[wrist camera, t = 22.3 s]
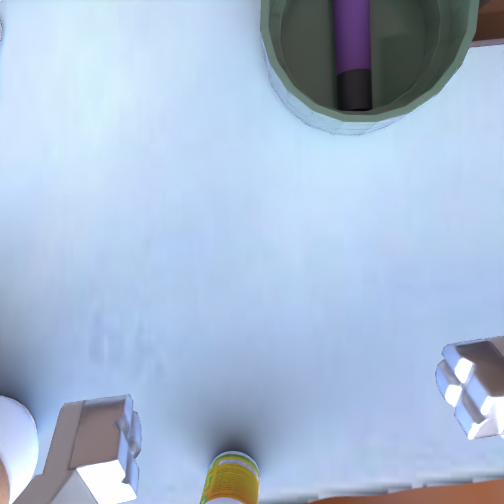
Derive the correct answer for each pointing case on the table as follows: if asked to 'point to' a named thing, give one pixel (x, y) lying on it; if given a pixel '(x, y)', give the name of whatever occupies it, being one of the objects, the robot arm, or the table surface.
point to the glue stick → (353, 54)
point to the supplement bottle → (232, 480)
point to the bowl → (382, 57)
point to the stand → (489, 24)
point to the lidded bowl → (16, 448)
